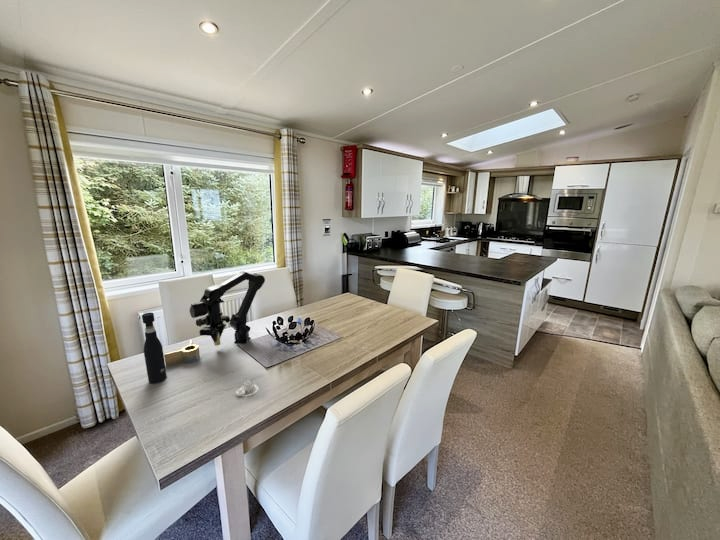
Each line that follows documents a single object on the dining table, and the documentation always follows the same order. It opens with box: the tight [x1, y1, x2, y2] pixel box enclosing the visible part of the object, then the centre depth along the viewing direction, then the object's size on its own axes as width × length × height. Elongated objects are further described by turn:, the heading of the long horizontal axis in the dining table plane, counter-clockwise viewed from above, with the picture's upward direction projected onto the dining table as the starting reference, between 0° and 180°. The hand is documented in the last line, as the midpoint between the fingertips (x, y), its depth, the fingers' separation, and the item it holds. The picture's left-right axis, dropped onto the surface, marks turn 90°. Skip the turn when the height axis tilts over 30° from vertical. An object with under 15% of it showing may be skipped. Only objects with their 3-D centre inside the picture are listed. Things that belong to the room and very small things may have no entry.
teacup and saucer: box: [235, 379, 260, 397], centre depth 117 cm, size 9×8×4 cm
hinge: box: [163, 338, 201, 367], centre depth 140 cm, size 12×16×6 cm
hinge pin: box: [213, 329, 222, 347], centre depth 147 cm, size 3×3×8 cm
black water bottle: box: [141, 312, 168, 385], centre depth 120 cm, size 6×6×30 cm
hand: (217, 340), depth 148 cm, fingers closed on hinge pin, 3 cm apart
